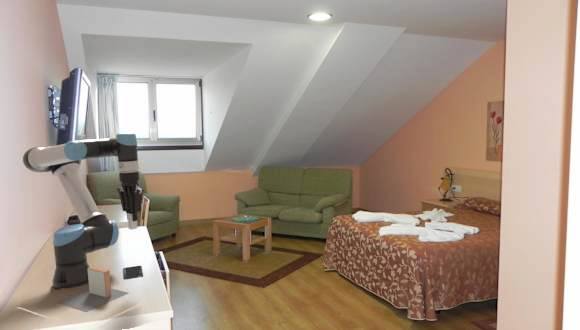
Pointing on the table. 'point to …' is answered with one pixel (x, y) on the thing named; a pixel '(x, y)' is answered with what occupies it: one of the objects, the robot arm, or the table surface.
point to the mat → (90, 300)
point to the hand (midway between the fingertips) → (133, 228)
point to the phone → (132, 272)
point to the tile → (99, 281)
